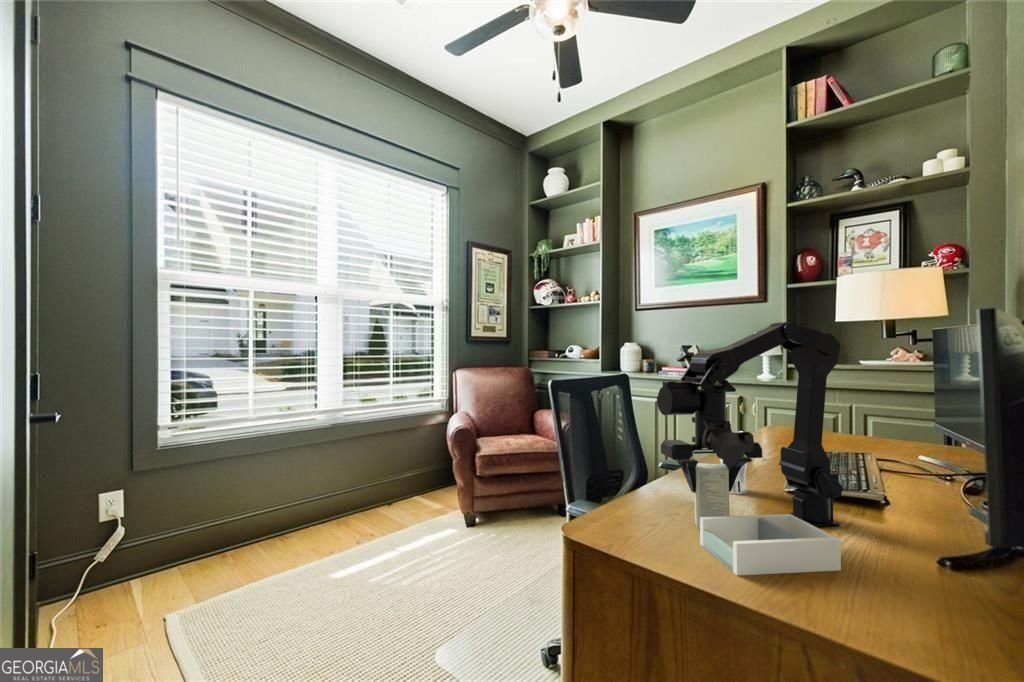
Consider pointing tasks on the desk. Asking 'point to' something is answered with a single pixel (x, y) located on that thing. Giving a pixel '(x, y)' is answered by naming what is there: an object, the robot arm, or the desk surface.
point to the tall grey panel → (771, 531)
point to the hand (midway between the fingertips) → (710, 491)
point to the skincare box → (711, 491)
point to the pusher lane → (769, 545)
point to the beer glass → (739, 478)
